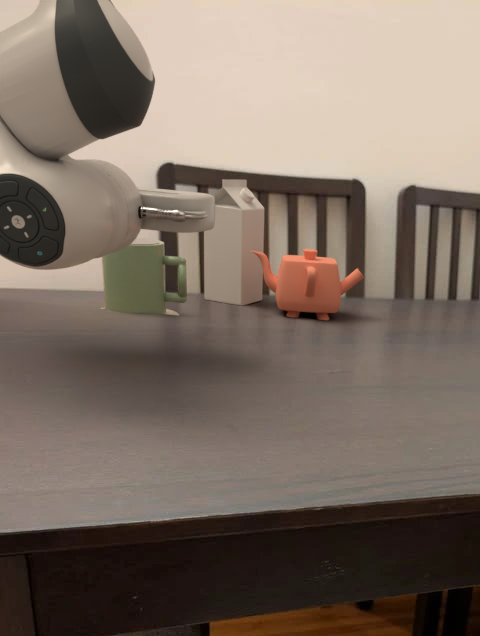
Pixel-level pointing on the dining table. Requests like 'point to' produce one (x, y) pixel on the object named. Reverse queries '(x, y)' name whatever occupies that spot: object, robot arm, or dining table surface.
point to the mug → (141, 278)
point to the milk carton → (234, 246)
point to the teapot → (307, 283)
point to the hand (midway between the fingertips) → (139, 200)
